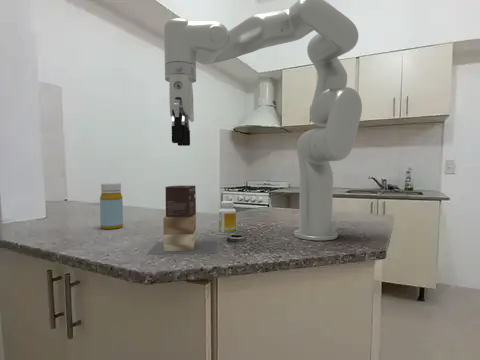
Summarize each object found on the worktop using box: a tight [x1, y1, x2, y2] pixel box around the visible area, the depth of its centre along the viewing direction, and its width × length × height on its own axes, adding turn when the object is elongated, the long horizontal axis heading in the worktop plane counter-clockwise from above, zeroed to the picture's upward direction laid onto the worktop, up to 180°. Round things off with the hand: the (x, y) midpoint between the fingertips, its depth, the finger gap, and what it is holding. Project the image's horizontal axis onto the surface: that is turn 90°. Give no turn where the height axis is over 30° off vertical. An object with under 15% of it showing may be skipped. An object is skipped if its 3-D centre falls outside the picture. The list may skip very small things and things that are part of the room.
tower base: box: [163, 228, 197, 251], centre depth 80 cm, size 7×7×4 cm
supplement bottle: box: [218, 200, 237, 233], centre depth 100 cm, size 5×5×10 cm
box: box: [165, 185, 197, 217], centre depth 80 cm, size 6×6×7 cm
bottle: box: [99, 182, 124, 230], centre depth 108 cm, size 7×7×15 cm
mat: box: [146, 240, 218, 256], centre depth 80 cm, size 16×12×1 cm
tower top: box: [162, 214, 197, 236], centre depth 80 cm, size 7×7×4 cm
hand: (181, 144), depth 79 cm, fingers open, 9 cm apart
